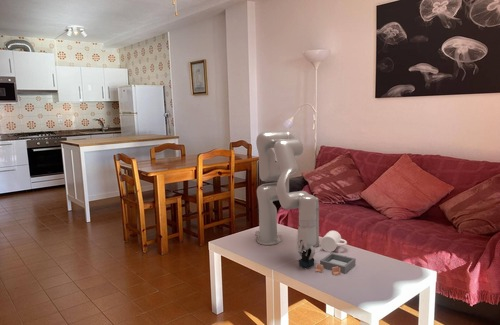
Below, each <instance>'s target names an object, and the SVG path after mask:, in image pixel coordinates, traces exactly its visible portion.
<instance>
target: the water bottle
mask: <svg viewBox="0 0 500 325" xmlns="http://www.w3.org/2000/svg"><path fill="white" fill-rule="evenodd" d="M315 198H316V244H315V246H314V248H316V247H319V244H320V242H319V241H320V240H319V239H320V238H319V237H320V236H319V235H320V227H319V226H320V209H319V208H320V205H319V204H320V203H319V198H318V197H316V196H315Z"/></svg>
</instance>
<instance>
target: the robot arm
mask: <svg viewBox="0 0 500 325" xmlns="http://www.w3.org/2000/svg"><path fill="white" fill-rule="evenodd" d="M255 143H256V148H257V154H258V173H259V179H260V180H261V181H262V182H268V183H263V184H260V185H259V186H257V188H256V197H257V203H258V221H259V222H258V225H259V226H258V227H259V228H258V229H259V230H255V231H254V233H253V234H254V236H256V237H257V238H256V242H257V243H258V244H259V245H264V246H274V245H277V244H279V243H280V242H281V238H280V237H279V236H278V210H277V207H276V205H275V204H274V203H273V202H275V201H276V202H277V201H279V204H280V206H281V207H282V208H283V209H284V210H294V209H298V229H297V238H296V247H297V249H298V248H299V252H300V253H301V255H302V258H301V259H302V261H303V262H307V264H309V257H310V254H311V249H310V247H311V246H312V245H313V247H314V246H315V244H316V198H315V197H316V196H315V195H314V194H313V195H312V194H310V193H309V192H307V191H305V190H299V191H291V192H290V177H291V176H293V175H294V174H296V173H297V172H298V170H299V166H298V163H297V161H296V157H298V156H302V154H303V153H304V144H303V142H302V141H301V139H300V138H298V136H296V135H294V134H293V133H292V132H291V131H288V130H272V131H271V130H270V131H263V132H261V133H258V135H257V136H256V141H255ZM273 149H274V150H273ZM276 160H277V162H276ZM272 181H276V182H272ZM304 247H305V248H304ZM314 248H315V247H314ZM299 252H298V253H299ZM313 258H314V257H313ZM313 258H312V259H313ZM310 260H311V259H310Z"/></svg>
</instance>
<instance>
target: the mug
mask: <svg viewBox="0 0 500 325" xmlns="http://www.w3.org/2000/svg"><path fill="white" fill-rule="evenodd" d="M347 244H348V242H347V240H345V239H343V238H342V236H341V234H340V233H339V232H338V231H337V230H329V231H328V232H327V233H326V234H325V235H324V236H323V237H322V238H321V240H320V247H321V249H322V250H324V252H327V253H330V252H331V253H333V252H334V251H335V250H336V249H337V247H345V246H347Z"/></svg>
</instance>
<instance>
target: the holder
mask: <svg viewBox="0 0 500 325" xmlns="http://www.w3.org/2000/svg"><path fill="white" fill-rule="evenodd" d="M319 265H323V269H326V270H329V271H332V268H333V267H337V266H338V267H339V268H341V274H347V273H348V272H350V270H352V269H353V268H354V267H355V266H356V258H355V257H349V256H346V255H342V254H337V253H334V252H331V253H330V252H329V254H328V255H326V256H324V257H323V258H321V259H320V260H319Z"/></svg>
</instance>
